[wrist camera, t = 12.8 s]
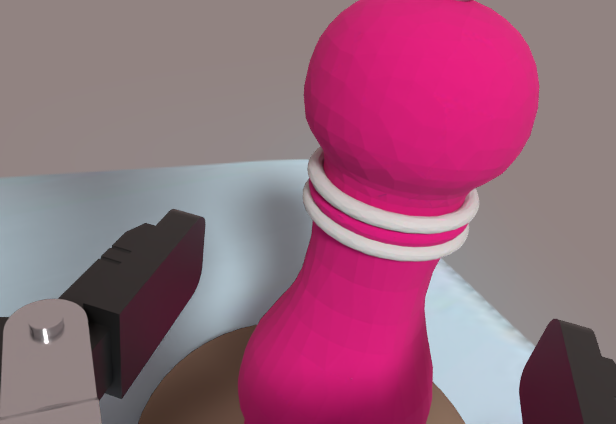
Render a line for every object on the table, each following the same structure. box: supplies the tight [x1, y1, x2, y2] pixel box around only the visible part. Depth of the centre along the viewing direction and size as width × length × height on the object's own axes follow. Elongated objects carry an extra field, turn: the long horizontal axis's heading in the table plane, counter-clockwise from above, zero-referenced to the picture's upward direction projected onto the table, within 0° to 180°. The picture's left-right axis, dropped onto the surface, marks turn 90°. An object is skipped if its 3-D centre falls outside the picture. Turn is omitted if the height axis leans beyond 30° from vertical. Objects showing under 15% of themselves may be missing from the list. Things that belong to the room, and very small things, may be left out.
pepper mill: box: [238, 0, 539, 424], centre depth 17 cm, size 7×7×20 cm
